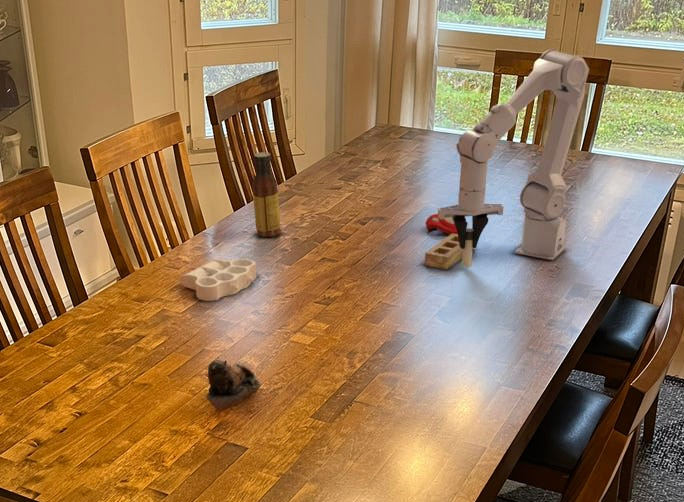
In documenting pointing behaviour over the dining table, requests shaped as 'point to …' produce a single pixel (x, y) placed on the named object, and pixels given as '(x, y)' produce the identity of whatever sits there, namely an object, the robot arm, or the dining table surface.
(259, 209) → the sauce bottle
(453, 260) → the pen block
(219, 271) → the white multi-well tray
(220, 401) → the bison figurine
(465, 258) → the marker
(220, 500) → the dining table surface
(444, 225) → the red curved piece
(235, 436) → the dining table surface
